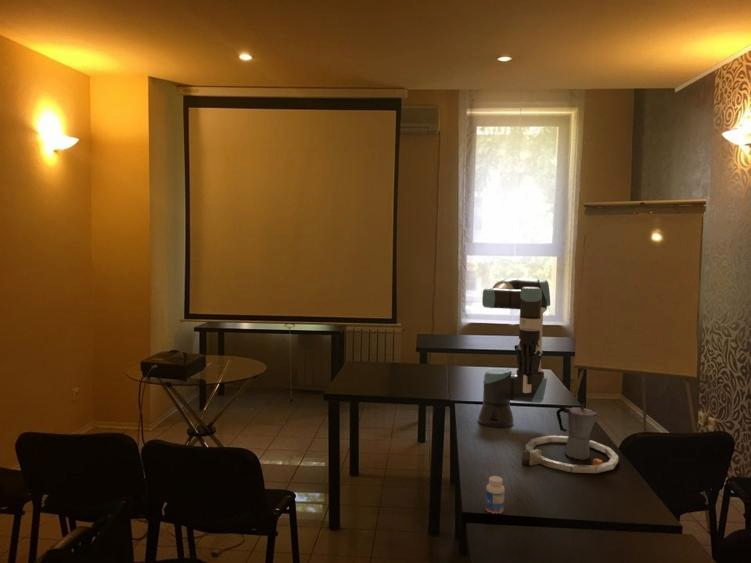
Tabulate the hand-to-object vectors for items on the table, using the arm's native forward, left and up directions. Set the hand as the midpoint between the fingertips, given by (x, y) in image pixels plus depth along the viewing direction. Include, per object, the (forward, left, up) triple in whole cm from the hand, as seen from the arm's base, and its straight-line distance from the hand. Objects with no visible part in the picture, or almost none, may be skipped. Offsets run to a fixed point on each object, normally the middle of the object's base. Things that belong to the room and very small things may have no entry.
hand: (526, 392), depth 219 cm
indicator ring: (+7, +12, -24) cm, 28 cm away
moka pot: (+8, +19, -25) cm, 32 cm away
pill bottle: (+30, -38, -25) cm, 54 cm away
